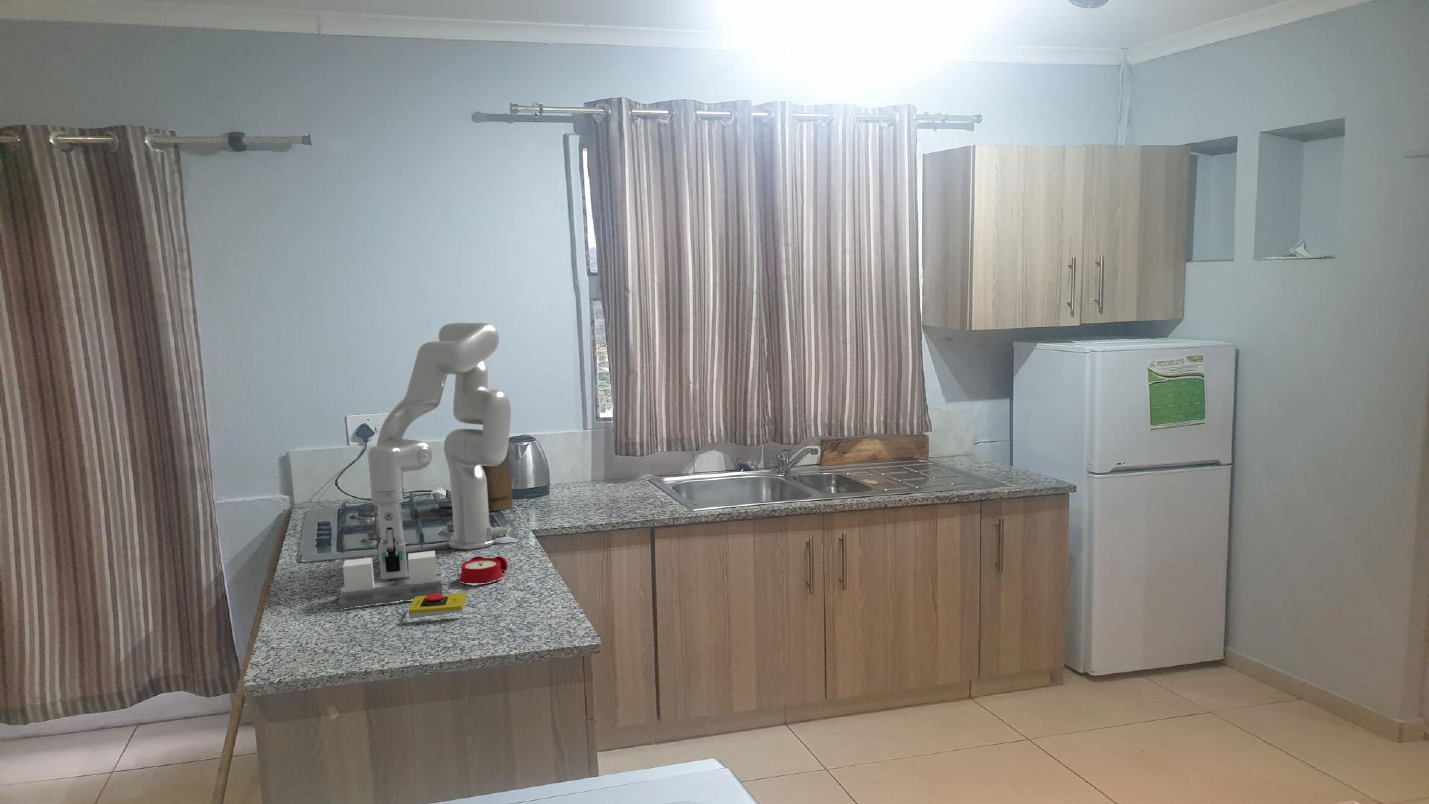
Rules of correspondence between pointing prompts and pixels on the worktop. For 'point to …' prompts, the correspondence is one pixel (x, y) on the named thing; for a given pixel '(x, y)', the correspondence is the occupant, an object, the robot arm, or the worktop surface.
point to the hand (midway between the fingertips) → (393, 567)
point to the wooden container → (499, 485)
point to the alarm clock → (482, 569)
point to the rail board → (389, 592)
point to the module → (401, 558)
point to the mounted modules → (362, 576)
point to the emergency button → (437, 604)
